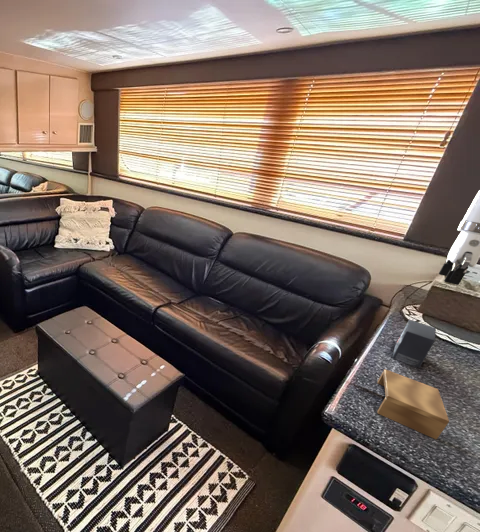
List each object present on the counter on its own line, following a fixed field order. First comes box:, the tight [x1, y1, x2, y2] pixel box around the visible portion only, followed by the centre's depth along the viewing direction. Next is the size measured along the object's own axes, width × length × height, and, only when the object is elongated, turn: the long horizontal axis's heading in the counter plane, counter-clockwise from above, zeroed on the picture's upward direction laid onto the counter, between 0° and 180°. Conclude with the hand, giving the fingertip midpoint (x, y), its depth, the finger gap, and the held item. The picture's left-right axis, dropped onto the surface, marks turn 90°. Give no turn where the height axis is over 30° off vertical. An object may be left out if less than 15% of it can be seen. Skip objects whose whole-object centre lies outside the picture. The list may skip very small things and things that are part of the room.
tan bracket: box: [377, 368, 450, 440], centre depth 84 cm, size 11×15×6 cm
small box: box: [392, 319, 437, 369], centre depth 107 cm, size 13×7×12 cm, turn 133°
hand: (447, 279), depth 103 cm, fingers open, 9 cm apart
